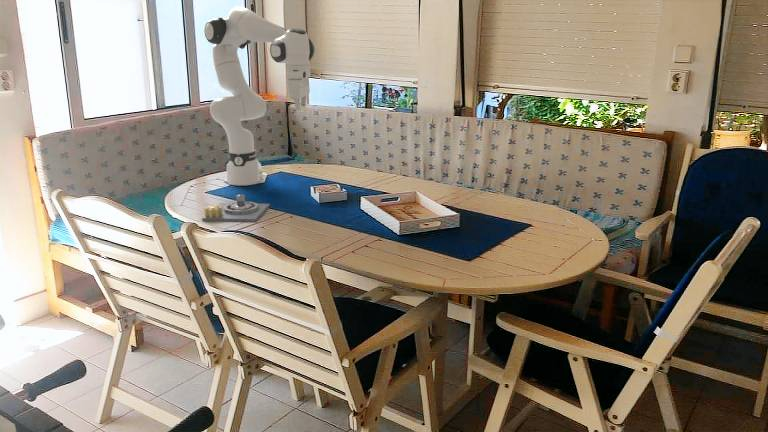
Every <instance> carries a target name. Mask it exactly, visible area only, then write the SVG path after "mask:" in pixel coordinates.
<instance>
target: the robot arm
mask: <svg viewBox="0 0 768 432" xmlns="http://www.w3.org/2000/svg"><path fill="white" fill-rule="evenodd" d="M204 35H205V36H204V37H205V39H206V40H207V41H208V43H210V44H212V45H213V46H212V58H213V65H214V69H215V73H216V77H217V81H218V83H219V86H220V87H221V88H222V89H224V90H225V91H228V92H230V93H231V94H232V96H231V95H230V96H222V97H218V98H217V99H213V100H212V101H211V103H210V105H209V113H210V114H209V115H210V116H211V118H212V119H213V120H214V121H215V122H217V123H218V124H219V125H221V126H222V128H223V129H224V130H225V134H226V136H227V143H228V148H229V149H228V151H229V152H228V160H229V161H228V163H227V164H226V178H225V179H223V182H224V183H226V184H229V185H230V186H231V185H232V186H252V185H257V184H262V183H265V182H266V179H267V176H268V174H267V172H263V170H262V164H261V162H260V161H259V160H258V159H257V149H255V139H254V134H253V133H252V131H250V130H249V129H246V128H244V127H243V126H242V121H251V120H256V119H259V118H262V117H264V116H265V115H266V112H267V102H266V100H265V99H264V98H263V97H262V95H260V94H258V93H256V92H255V91H254V90H253V89H252V88H251V87H250V85H249V84H248V83H247V81H246V78H245V76H244V73H243V70H242V67H241V63H240V58H239V55H238V50H239V49H241V50H243V49H245V48H246V46H248V45H249V44H251V43H252V42H253V43H271V44H270V47H269V52H270V56H271V58H272V60H273V61H274V62H276V63H279V64H287V65H286V66H287V69H286V75H285V78H286V80H287V85H288V86H287V87H288V88H287V89H288V95H289V99H290V100H293V102H294V106H295V108H294V109H295V110H296V111H301V108H305V107H306V106H307V97H308V96H307V95H310V89H311V88H310V78H311V76H312V75H311V74H312V72H311V62H310V61H311V60H312V59H313V57H314V55H315V45H314V43H313V41H312V40H311V39H310V38H309V36H308V32H307V31H305V30H304V29H300V28H290V29H286V28H284V27H282V26H279V25H278V24H275V23H274V22H272V21H270V20H268V19H265V18H264V17H262V16H261V15H259V14H257V13H256V12H255V11H253V10H252V9H249V8H246V7H244V6H235V7H233V8H232V9H231V10H230V11H229V13H228V17H226V18H225V17H221V16H220V17H217V18H216V17H215V18H212V19H209V20H207V22H206V24H205V26H204Z"/></svg>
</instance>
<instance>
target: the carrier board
mask: <svg viewBox="0 0 768 432" xmlns="http://www.w3.org/2000/svg"><path fill="white" fill-rule="evenodd" d="M235 203H237V201H236V202H220V203H218V204H213V205H210V204H209V205H207V206H204V207H203V211H204V216H203V217H202V218H201V221H203V222H204V221H205V222H208V221H209V222H251V223H255V222H256V221H258V219H259V218H260V217H262V215H263V214H264V213H265V212H266V211H267V210H268V209H269V208H270V206H271V205H270V203H257V202H253V201H245V203H251V204H252V208H250V209H246V210H231V209H230V205H234V204H235Z"/></svg>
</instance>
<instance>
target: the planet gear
mask: <svg viewBox="0 0 768 432" xmlns="http://www.w3.org/2000/svg"><path fill="white" fill-rule="evenodd" d="M235 198H236V202H237V203H235V204H234V205H230V209H231V210H246V209H250V208H252V204H251V203H245V202H246V200H245V194H244V193H243V194H241V193H239V194H236V197H235Z"/></svg>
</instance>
